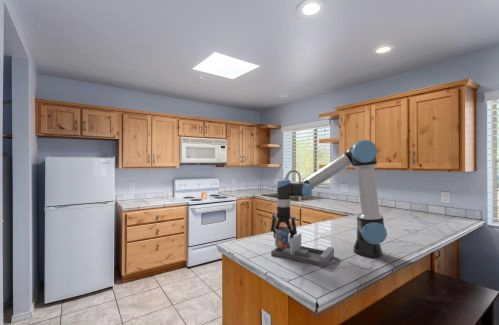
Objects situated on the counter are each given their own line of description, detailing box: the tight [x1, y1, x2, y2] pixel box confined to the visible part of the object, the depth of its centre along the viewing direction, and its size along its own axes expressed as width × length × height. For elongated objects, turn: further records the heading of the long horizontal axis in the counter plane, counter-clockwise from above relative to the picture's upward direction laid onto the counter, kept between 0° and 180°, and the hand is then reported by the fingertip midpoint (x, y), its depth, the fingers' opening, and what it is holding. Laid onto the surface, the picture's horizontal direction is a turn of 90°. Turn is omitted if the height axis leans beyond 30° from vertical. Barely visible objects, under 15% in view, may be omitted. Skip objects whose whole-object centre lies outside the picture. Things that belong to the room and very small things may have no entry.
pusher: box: [290, 232, 309, 257], centre depth 143 cm, size 7×14×10 cm, turn 148°
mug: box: [274, 225, 290, 248], centre depth 148 cm, size 12×9×11 cm
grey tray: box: [270, 245, 335, 269], centre depth 142 cm, size 30×17×5 cm, turn 58°
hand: (283, 245), depth 148 cm, fingers closed on mug, 8 cm apart
